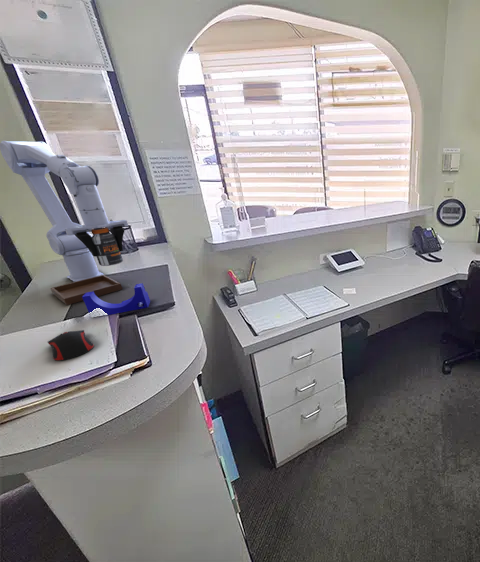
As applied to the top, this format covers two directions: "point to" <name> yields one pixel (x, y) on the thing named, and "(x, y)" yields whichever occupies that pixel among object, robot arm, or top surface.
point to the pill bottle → (106, 247)
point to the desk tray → (85, 289)
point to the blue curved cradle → (133, 303)
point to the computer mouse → (70, 345)
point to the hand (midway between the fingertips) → (107, 253)
